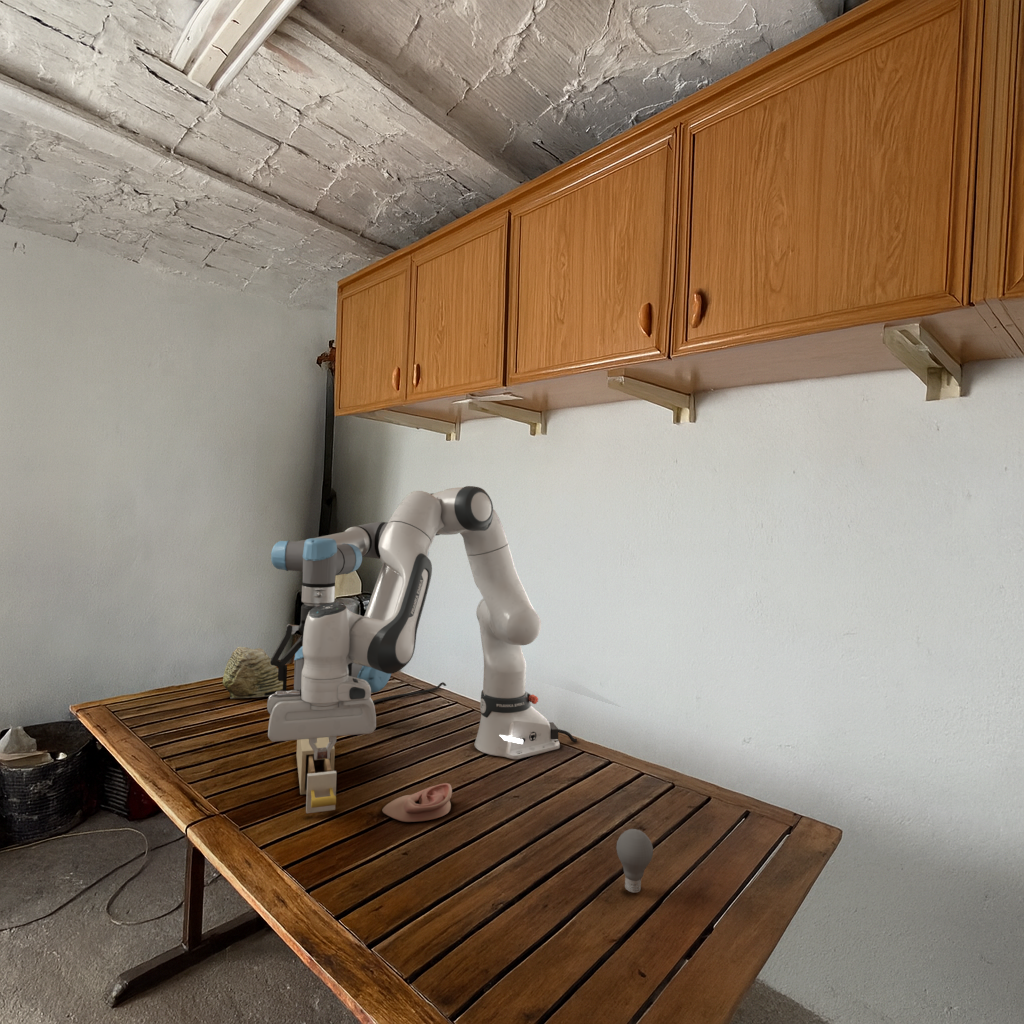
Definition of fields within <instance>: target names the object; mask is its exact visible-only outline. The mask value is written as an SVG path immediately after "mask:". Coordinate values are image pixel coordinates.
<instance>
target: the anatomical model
mask: <svg viewBox="0 0 1024 1024" xmlns="http://www.w3.org/2000/svg"><path fill="white" fill-rule="evenodd" d="M452 795H453V788H452V785H451V784H450V783H447V782H445V783H444V782H443V783H440V784H436V785H433V786H429V787H426V788H424V789H422V790H419V791H417V792H415V793H411V794H405V795H402V796H399V797H397V798H395V799H393V800H391V801H390V802H388V803H387V804H386V805H384V806H383V808H382V813H383V814H384V815H386V816H387V817H389V818H392V819H394V820H396V821H400V822H402V823H415V822H425V821H430V820H431V821H432V820H436V819H438V818H442V817H444V816H445V815H447V814H448V813H449V812H450V811H451V808H452V803H451V799H452Z"/></svg>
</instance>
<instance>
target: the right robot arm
mask: <svg viewBox="0 0 1024 1024" xmlns="http://www.w3.org/2000/svg"><path fill="white" fill-rule="evenodd" d="M457 534H460V535H461V537H462V540H463V545H464V549H465V552H466V556H467V560H468V563H469V564H468V565H469V566H470V571H471V573H472V578H473V580H474V584H475V586H476V588H478V590H479V592H480V594H481V597H482V599H480V601H479V602H478V604H477V606H476V611H475V612H476V614H475V615H476V619H477V621H478V625H479V630H480V631H479V632H480V640H481V648H482V655H483V679H482V680H483V681H482V682H483V683H482V690H481V692H480V701H479V702H480V703H479V709H480V719H479V725H478V730H477V734H476V738H475V741H474V743H473V744H474V748H475V749H476V750H477V751H480V752H481V753H483V754H487V755H490V756H495V757H504V758H507V759H510V760H520V759H525V758H527V757H532V756H536V755H540V754H544V753H547V752H551V751H555V750H558V749H560V747H561V745H560V741H559V734H562V735H565V736H566V737H568V738H569V740H570V741H571V742H573V743H577V742H578V739H577V738H575V737H573V735H572V733H570V732H569V731H566V730H564V729H560V728H558V726H557V725H556V724H555V723H554V722H553V721H552V722H551V721H549V720H548V719H547V718H546V717H545V716H544V715H543V714H542V713H541V712H539V711H538V710H537V709H536V708H535V707H534V706H532V705H531V704H533V705H537V703H538V702H539V697H538V696H537V695H535V694H531V693H530V692H528V691H526V679H527V661H526V658H525V656H524V653H523V649H522V646H527V645H530V644H532V643H533V642H534V641H535V640H537V638H538V636H539V635H540V633H541V628H542V621H541V617H540V616H539V613H537V610H536V609H535V608H534V606H533V605H532V602H531V600H530V598H529V595H528V593H527V591H526V589H525V587H524V585H523V582H522V581H521V579H520V577H519V574H518V572H517V568H516V565H515V562H514V558H513V555H512V551H511V547H510V545H509V540H508V536H507V534H506V531H505V528H504V526H503V524H502V521H501V520H500V517H499V514H498V513H497V512H496V510H495V509H494V505H493V501H492V499H491V497H490V495H489V494H488V492H487V491H486V490H485V489H483V488H482V487H479V486H474V485H466V486H463V487H452V488H446V489H444V490H441V491H438V492H435V493H434V492H433V493H429V492H427V491H424V490H414V491H411V492H409V493H408V494H406V496H405V497H404V498H403V499H402V500H401V502H400V503H399V504H398V506H397V507H396V508H395V510H394V512H393V513H392V514H391V516H390V518H389V520H388V523H387V525H386V527H385V529H384V531H383V533H382V535H381V538H380V541H379V546H378V547H379V553H380V556H381V558H382V560H383V561H384V563H385V564H386V565H387V566H388V567H389V568H390V569H391V570H393V571H394V572H395V573H397V574H398V575H400V576H401V577H402V580H403V584H402V588H401V591H400V594H399V598H398V601H397V604H396V608H395V611H394V614H393V616H392V617H391V618H389V619H388V620H379V619H374V618H370V617H365V616H364V615H361V614H359V613H355V612H353V611H352V610H350V609H349V608H348V607H347V606H346V604H343V603H340V602H339V603H338V602H333V603H330V604H322V605H319V606H316V607H314V608H313V609H311V610H310V611H309V613H308V615H307V618H306V622H305V626H304V633H303V650H302V652H303V656H304V666H303V669H302V676H301V689H300V690H294V689H290V690H286V691H277V692H276V693H274V694H272V695H271V696H268V698H267V702H266V711H267V713H268V714H269V720H268V728H267V737H268V739H269V741H271V742H273V743H274V742H275V743H276V742H287V741H288V742H289V741H297V740H300V739H309V744H310V746H311V748H312V749H313V751H314V760H321V759H330V750H331V749H332V748H333V746H334V747H335V745H336V744H337V739H338V738H337V737H344V736H356V735H370V734H373V732H375V730H376V728H377V713H376V707H375V703H373V701H374V700H373V699H372V697H371V696H372V693H371V687H370V685H369V684H368V682H367V681H366V680H363V679H359V678H355V677H352V676H348V674H349V670H348V664H350V663H355V664H358V665H363V666H367V667H372V668H374V669H376V670H379V671H382V672H385V673H388V674H391V675H392V674H395V673H398V672H399V671H401V670H402V669H404V668H405V667H406V666H407V665H408V664H409V663H410V661H411V660H412V658H413V657H414V653H415V649H416V642H417V633H418V629H419V625H420V621H421V616H422V614H423V610H424V606H425V603H426V600H427V595H428V592H429V587H430V583H431V580H432V575H433V574H432V573H433V564H432V561H431V560H430V558H429V555H428V553H429V554H430V549H431V547H432V544H433V542H434V540H435V537H436V536H449V535H457ZM300 695H301V696H300ZM323 737H328V738H329V743H328V745H327V746H326V747H324V748H317V746H316V744H315V743H317V738H323Z"/></svg>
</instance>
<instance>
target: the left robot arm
mask: <svg viewBox="0 0 1024 1024" xmlns="http://www.w3.org/2000/svg"><path fill="white" fill-rule="evenodd" d="M388 522H389V521H388ZM388 522H387V521H375V522H369V523H364V524H360V525H354V526H351V527H348V528H347V529H345V530H344V531H343V532H337V533H332V534H328V535H321V536H317V537H311V538H307V539H302V540H295V541H294V540H279V541H277V542H275V544H274V545H273V546H272V549H271V551H270V559H271V564H272V565H273V566H272V567H274V568H276V569H277V570H283V571H286V572H289V571H290V572H291V571H292V572H293V571H294V572H302V584H301V603H302V605H301V607H300V622H299V625H298V624H292V623H287V624H286V628H285V633H284V635H283V636H282V638H281V640H280V641H279V644H278V646H277V647H276V649H275V650H274V653H273V654H272V656H271V657H270V658H271V660H270V664H271V665H274V666H276V668H278V680H279V681H283V691H287V687H288V686H287V684H288V682H287V681H288V665H287V664H288V662H290V660H291V659H292V658H293V657H294V659H293V660H294V672H293V690H300V689H301V676H302V669H303V666H304V656H303V652H302V650H303V633H304V626H305V622H306V618H307V615H308V613H309V611H310V610H311V609H313V608H314V607H316V606H319V605H322V604H330V603H335V600H336V599H335V597H336V576H342V575H348V574H351V573H353V572H356V571H357V570H358V569H359V568H360V567H361V565H362V562H363V558H370V559H378V560H380V562H381V564H382V565H381V568H380V570H379V573H378V576H377V579H376V582H375V584H374V588H373V591H372V593H371V596H370V598H369V602H368V604H367V607H366V610H365V613H364V615H363V616H365V617H370V618H374V619H379V620H388V619H389V618H391V617H392V616H393V614H394V611H395V608H396V604H397V601H398V598H399V594H400V591H401V588H402V584H403V580H402V577H401V576H400V575H398V574H397V573H395V572H394V571H393V570H391V569H390V568H389V567H388V566H387V565H386V564H385V563H384V561H383V560H382V558H381V556H380V553H379V547H378V546H379V541H380V538H381V535H382V533H383V531H384V529H385V527H386V525H387V523H388ZM429 554H430V552H429V553H428V556H429ZM297 631H298V632H299V633H300V635H301V636H300V637H299V638H298V639H297V640H296V642H295V643H294V644H293V645H292V647H290V649H288V651H286V653H285V654H284V655H283V656H282V657H281V655H282V654H283V652H284V650H285V648H286V646H287V644H288V642H289V641H290V640H291V637H292V635H295V633H296V632H297ZM280 657H281V658H280ZM348 670H349V674H348V676H352V677H355V678H359V679H363V680H366V681H367V682H368V684H369V685H370V687H371V694H374V693H375V694H376V693H379V692H380V691H381V690H383V689H384V688H385V687H386V686H387V684H388V683H389V681H390V678H391V677H392V674H388V673H385V672H382V671H379V670H376V669H374V668H372V667H367V666H363V665H358V664H355V663H350V664H348ZM286 686H287V687H286ZM442 686H444V687H446V686H447V684H446V683H445V682H440V683H439V684H438V685H437V686H435V687H432V688H428V689H423V690H417V691H413V692H407V693H400V694H399V693H398V694H395V695H389V696H384V697H381V698H377V699H374V700H372V701H373V703H374V704H376V703H380V702H383V701H387V700H391V699H397V698H401V697H402V698H403V697H408V696H414V695H415V696H416V695H419V694H426V693H429V692H434V691H437V690H438V689H439V688H440V687H442ZM300 696H301V695H300Z"/></svg>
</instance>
